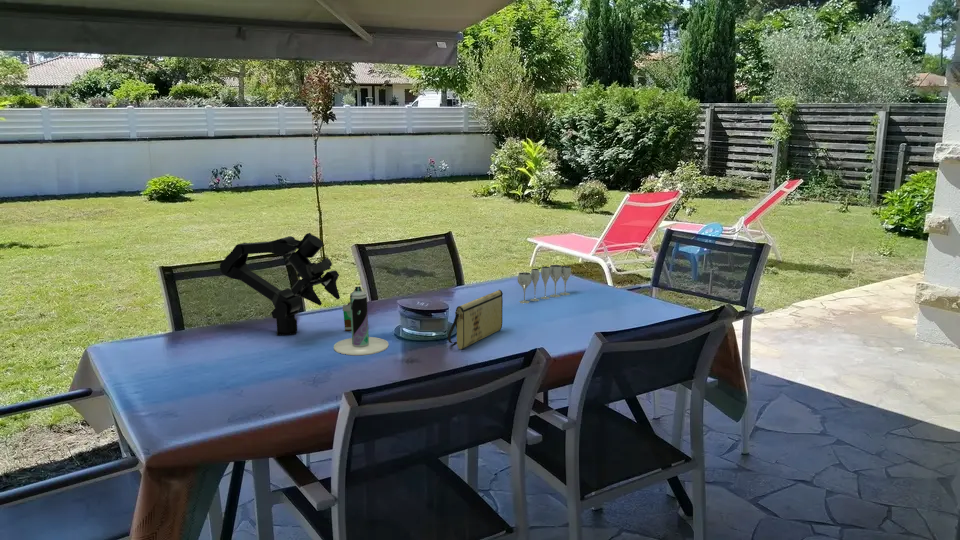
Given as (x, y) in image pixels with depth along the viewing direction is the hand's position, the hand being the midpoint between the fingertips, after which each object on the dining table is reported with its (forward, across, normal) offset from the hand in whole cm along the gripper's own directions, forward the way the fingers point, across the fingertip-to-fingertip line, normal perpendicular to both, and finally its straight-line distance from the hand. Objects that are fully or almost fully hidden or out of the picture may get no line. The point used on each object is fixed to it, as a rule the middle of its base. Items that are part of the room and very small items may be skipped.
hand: (330, 301), depth 248 cm
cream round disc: (+19, -1, 0) cm, 19 cm away
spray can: (+19, -1, 0) cm, 19 cm away
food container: (+9, +16, +11) cm, 21 cm away
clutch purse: (+40, +25, -20) cm, 51 cm away
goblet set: (+38, +88, -18) cm, 98 cm away
